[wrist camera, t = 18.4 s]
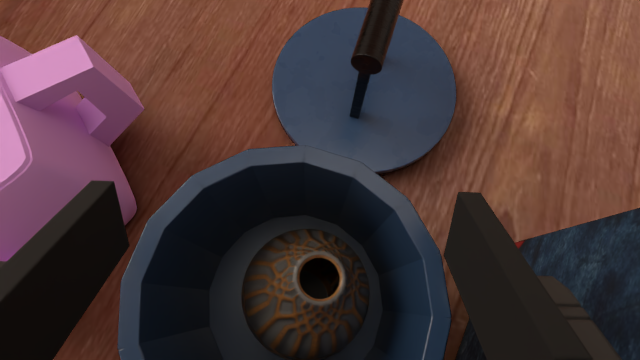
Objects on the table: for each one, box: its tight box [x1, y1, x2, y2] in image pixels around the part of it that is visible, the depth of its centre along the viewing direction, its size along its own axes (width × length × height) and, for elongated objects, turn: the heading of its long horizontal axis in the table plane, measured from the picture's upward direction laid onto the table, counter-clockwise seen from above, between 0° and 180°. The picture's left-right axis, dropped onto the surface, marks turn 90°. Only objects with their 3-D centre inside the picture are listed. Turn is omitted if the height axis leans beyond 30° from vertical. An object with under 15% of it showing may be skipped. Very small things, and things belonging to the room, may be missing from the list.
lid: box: [272, 0, 456, 174], centre depth 27 cm, size 14×14×9 cm
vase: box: [241, 229, 370, 360], centre depth 22 cm, size 7×7×9 cm
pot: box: [117, 145, 451, 360], centre depth 21 cm, size 13×13×12 cm
